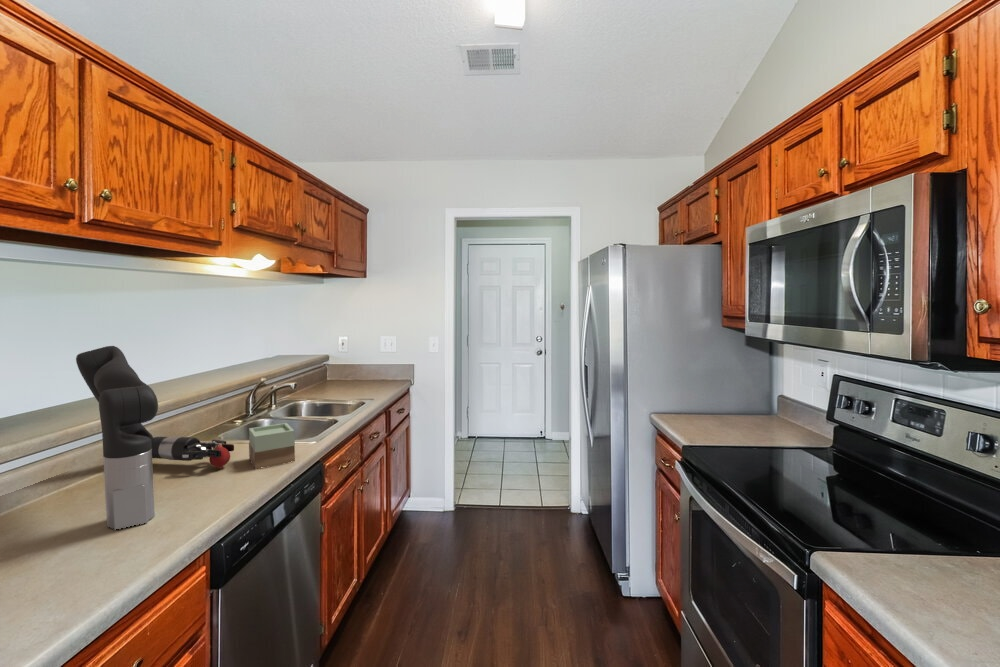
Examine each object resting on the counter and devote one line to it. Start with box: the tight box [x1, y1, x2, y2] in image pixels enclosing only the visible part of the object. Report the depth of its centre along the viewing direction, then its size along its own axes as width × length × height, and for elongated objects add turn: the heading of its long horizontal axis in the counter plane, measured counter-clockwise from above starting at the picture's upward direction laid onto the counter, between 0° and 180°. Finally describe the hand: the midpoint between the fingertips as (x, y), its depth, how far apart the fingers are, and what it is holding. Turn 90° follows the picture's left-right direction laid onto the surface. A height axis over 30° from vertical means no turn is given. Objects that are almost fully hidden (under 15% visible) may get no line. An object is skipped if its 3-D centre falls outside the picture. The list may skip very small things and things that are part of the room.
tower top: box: [248, 422, 296, 452], centre depth 155 cm, size 12×12×5 cm
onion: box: [208, 444, 231, 469], centre depth 147 cm, size 6×6×8 cm
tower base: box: [248, 442, 296, 470], centre depth 155 cm, size 12×12×6 cm
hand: (226, 450), depth 147 cm, fingers closed on onion, 5 cm apart
